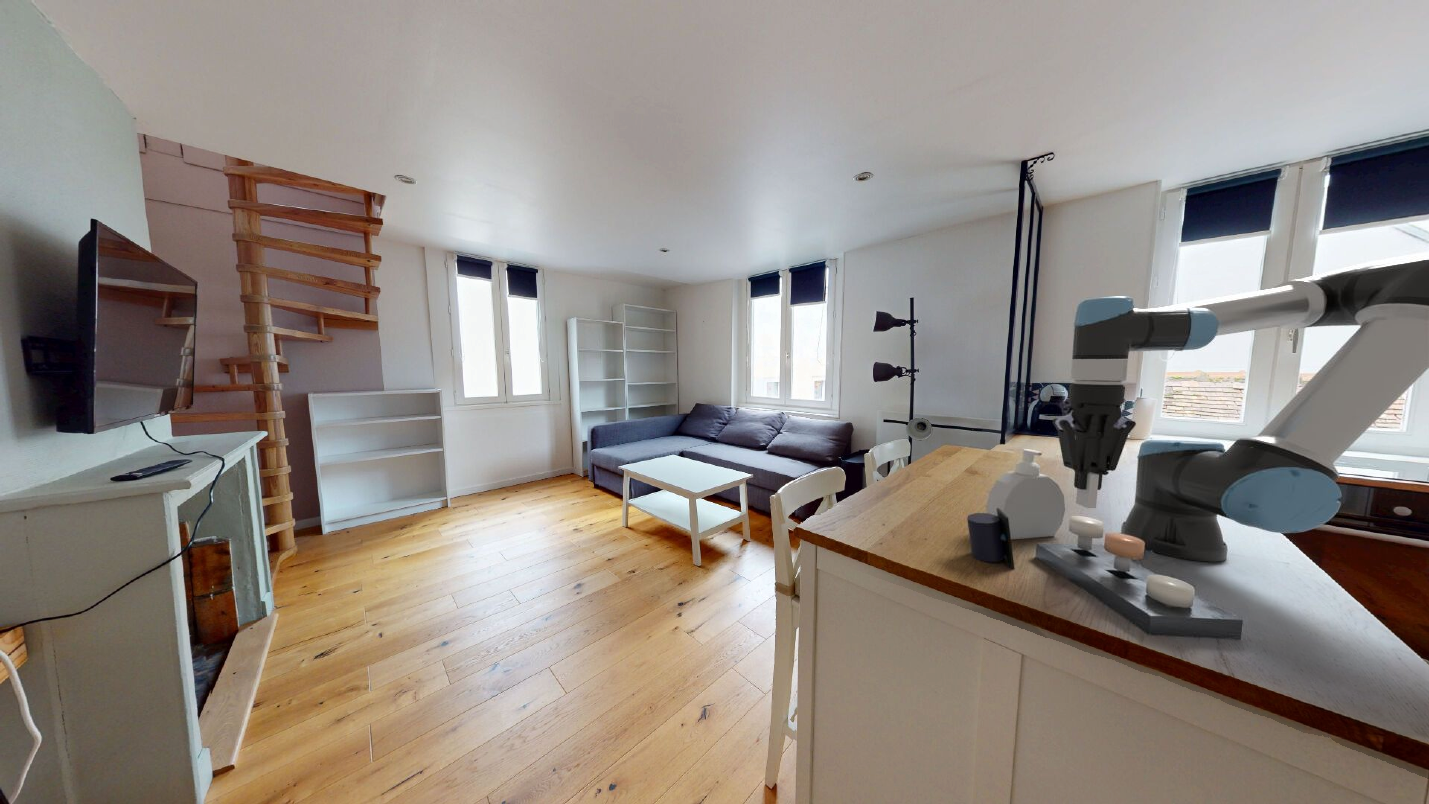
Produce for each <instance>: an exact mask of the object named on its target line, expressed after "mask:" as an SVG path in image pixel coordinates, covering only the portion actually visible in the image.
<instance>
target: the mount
mask: <svg viewBox="0 0 1429 804" xmlns="http://www.w3.org/2000/svg"><path fill="white" fill-rule="evenodd" d="M1035 543H1036V544H1035V546H1036V547H1035V558H1036V559H1038V560H1040V562H1041V563H1044V564H1045V565H1046V566H1048V567H1050V568H1051V569H1053V570H1054V571H1055V572H1056V573H1058V574H1060V575H1061V576H1063V577H1064V578H1065V579H1067V580H1068V581H1070V582H1071V583H1073V584H1074V585H1075V586H1077V587H1078V588H1080V589H1082V590H1083V591H1085V592H1086V593H1088V594H1089V595H1090V596H1092V597H1093V598H1094V599H1097V601H1099V602H1100V603H1102V604H1103V605H1105V606H1106V607H1107V608H1109V609H1110V610H1112V611H1114V612H1115V613H1116V614H1117V615H1119V616H1120V617H1122V618H1124V619H1125V620H1126V621H1127V622H1129V623H1131V624H1132V625H1134V626H1135V627H1137V628H1138V629H1139V630H1141V631H1143V632H1144V633H1145V634H1147V635H1148V636H1159V637H1160V636H1161V637H1162V636H1163V637H1180V638H1182V637H1183V638H1199V639H1201V638H1202V639H1203V638H1204V639H1220V640H1221V639H1223V640H1226V639H1227V640H1242V637H1243V636H1242V634H1243V629H1244V628H1243V627H1244V619H1242V618H1241V617H1239V616H1236V615H1235V614H1233V613H1231V612H1229V611H1227V610H1226V609H1223V608H1221V607H1220V606H1218V605H1215V604H1214V603H1212V602H1210V601H1208V600H1206V599H1204V598H1202V597H1201V596H1198V595H1197V594H1195V593H1194V599H1193V606H1192V607H1189V608H1184V607H1167V606H1165V605H1163V604H1162V603H1160V602H1158V600H1155V599H1153V598H1152V597H1150V596H1149V595H1147V593H1146V585H1147V576H1148V575H1158V574H1157V573H1155V572H1153V571H1151V570H1150V569H1148V568H1145V567H1144V566H1141V565H1140V564H1137V563H1136V562H1134V561H1132V560H1131V567H1130V572H1123V571H1120V570H1117V569H1115V568H1114V558H1115V555H1114V554H1111V553H1109V552H1107V551H1106V550H1105V549H1104V545H1101V544H1093V543H1092V549H1091V550H1083V549H1080V548H1078V547H1077V545H1078V543H1053V542H1050V543H1049V542H1035Z"/></svg>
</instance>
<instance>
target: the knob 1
mask: <svg viewBox="0 0 1429 804" xmlns="http://www.w3.org/2000/svg"><path fill="white" fill-rule="evenodd" d="M1104 525H1105V524H1104V522H1103V521H1101V520H1099V519H1096V518H1092V517H1088V516H1082V515H1071V516H1069V527H1068V530H1069V532H1070V533H1071V534H1074V535H1077V536H1078V537H1077V544H1078V545H1077V547H1078V548H1080V549H1083V550H1091V549H1092V544H1093V539H1103V537H1104V536H1103V535H1104Z"/></svg>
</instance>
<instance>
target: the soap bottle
mask: <svg viewBox="0 0 1429 804" xmlns="http://www.w3.org/2000/svg"><path fill="white" fill-rule="evenodd" d="M1042 454H1043V453H1042V452H1041V451H1039V450H1034V449H1031V448H1030V449H1029V448H1023V449H1022V460H1020V461H1017V463H1015V469H1014V471H1013V470H1011V471H1006V472H1005V473H1003V475H1001V476H1000V477H999V478H997V479H996V481H995V483H994V484H993V485H992V487H991V488H990V491H989V493H988V497H987V502H986V513H989V514H992V515H996V516H997V508H999V509H1000V510H1001V511H1002V512H1003V513H1004V514H1005V515H1006V516H1007V517H1008V520H1009V528H1010V536H1011V541H1012V540H1022V539H1024V540H1025V539H1033V538H1034V539H1036V538H1046V537H1047V538H1048V537H1055V536H1056V535H1057V532H1059V530H1060V528H1061V526H1062V524H1063V521H1064V516H1065V511H1066V507H1065V506H1066V505H1065V496H1064V493H1063V491H1062V489H1061V487H1060V484H1059V483H1058V482H1057V481H1056V480H1054V479H1053V478H1052V477H1051V476H1050V475H1047V474H1042V473H1041V467H1040V465H1039V464H1038V463H1036V462H1035V456H1039V457H1040V456H1042Z"/></svg>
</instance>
